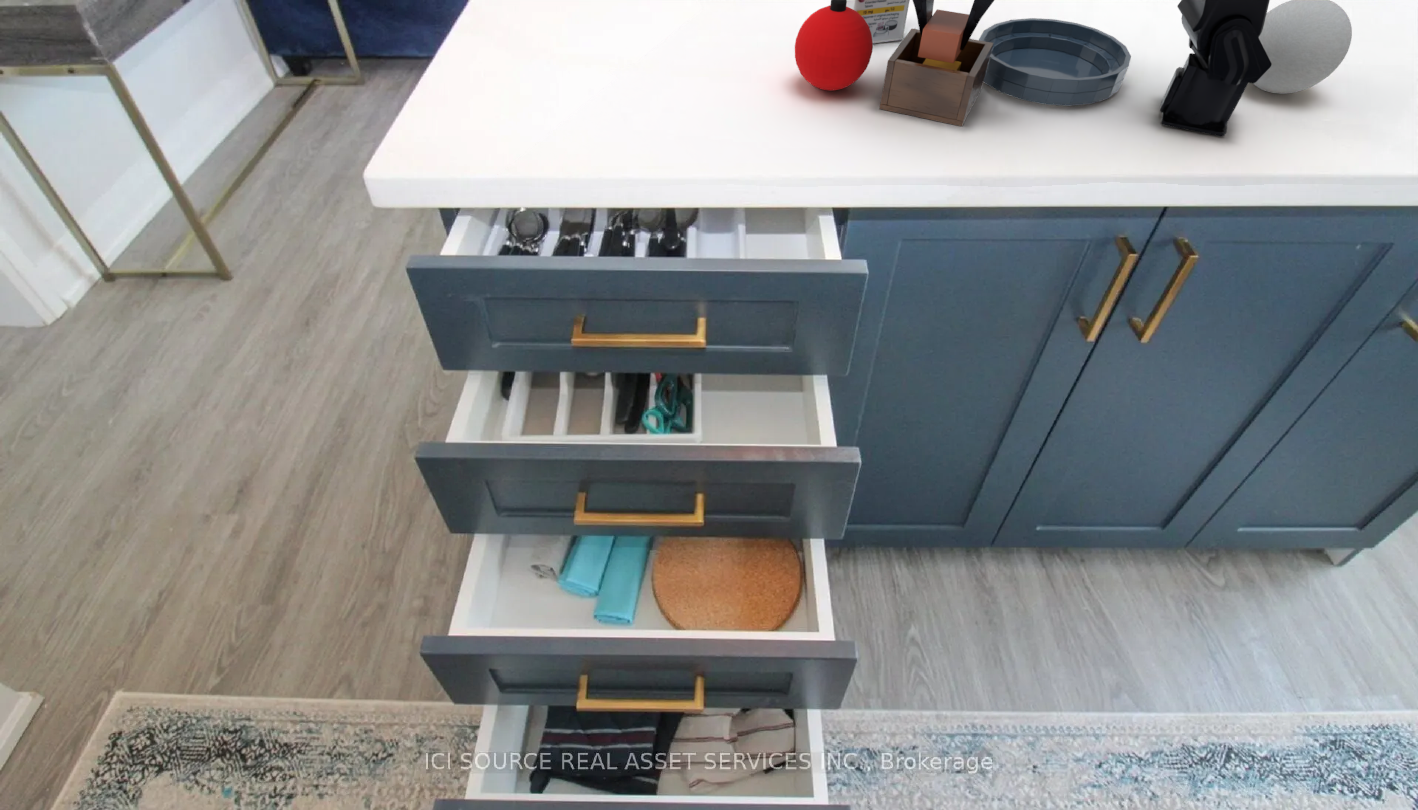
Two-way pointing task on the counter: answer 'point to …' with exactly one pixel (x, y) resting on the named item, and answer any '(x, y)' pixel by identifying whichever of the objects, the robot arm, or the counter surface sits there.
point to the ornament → (833, 47)
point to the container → (883, 17)
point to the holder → (934, 82)
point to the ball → (1303, 44)
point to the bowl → (1054, 61)
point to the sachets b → (943, 36)
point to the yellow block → (943, 64)
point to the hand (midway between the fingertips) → (943, 45)
